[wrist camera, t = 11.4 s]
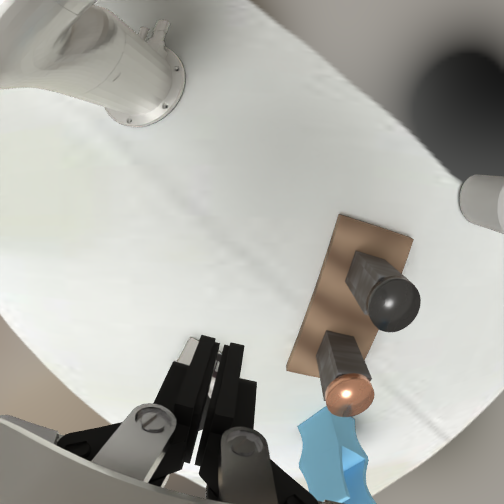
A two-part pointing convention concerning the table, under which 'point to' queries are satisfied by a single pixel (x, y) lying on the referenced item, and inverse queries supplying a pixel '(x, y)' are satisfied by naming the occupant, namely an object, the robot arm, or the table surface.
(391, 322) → the plunger black
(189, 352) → the container
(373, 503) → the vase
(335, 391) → the plunger terracotta
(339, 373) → the stand
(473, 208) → the can
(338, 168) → the table surface
